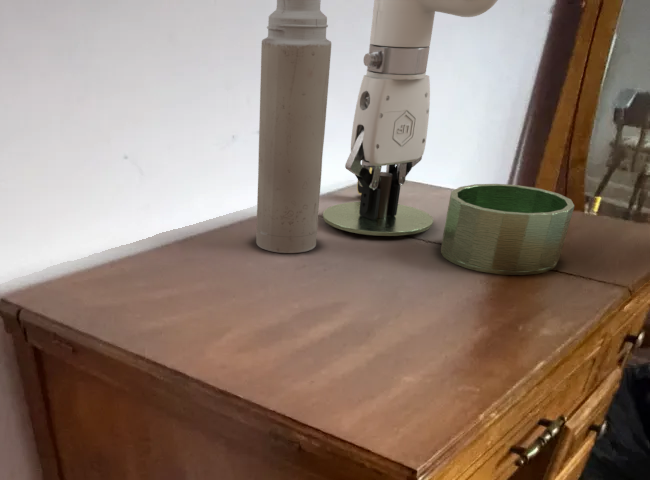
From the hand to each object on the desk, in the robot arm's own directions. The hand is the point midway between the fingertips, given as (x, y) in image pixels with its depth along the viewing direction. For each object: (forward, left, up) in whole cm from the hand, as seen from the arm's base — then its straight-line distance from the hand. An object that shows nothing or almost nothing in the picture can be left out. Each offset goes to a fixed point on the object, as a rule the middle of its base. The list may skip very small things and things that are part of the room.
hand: (377, 214), depth 103 cm
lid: (0, 0, -1) cm, 1 cm away
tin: (-4, +19, -1) cm, 20 cm away
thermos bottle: (+17, +1, -2) cm, 17 cm away
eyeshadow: (-9, -11, -2) cm, 14 cm away
